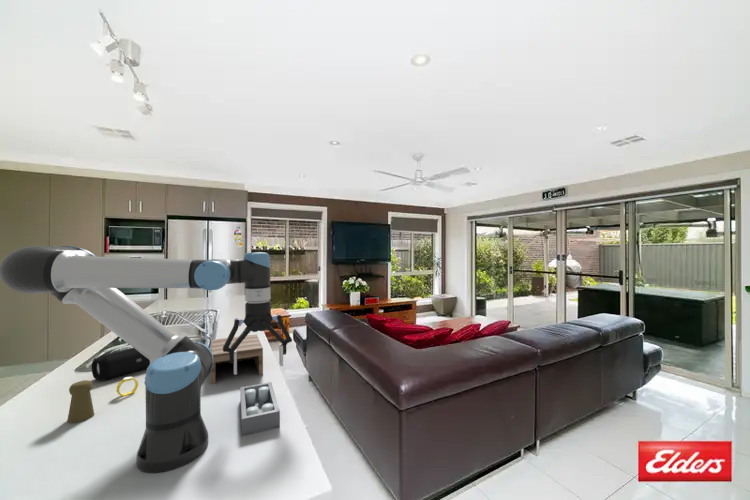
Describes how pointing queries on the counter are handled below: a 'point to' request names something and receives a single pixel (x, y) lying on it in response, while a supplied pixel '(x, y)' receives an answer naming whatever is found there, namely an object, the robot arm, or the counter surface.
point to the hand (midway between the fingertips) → (259, 368)
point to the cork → (80, 402)
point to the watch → (123, 382)
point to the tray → (259, 408)
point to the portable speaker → (118, 364)
